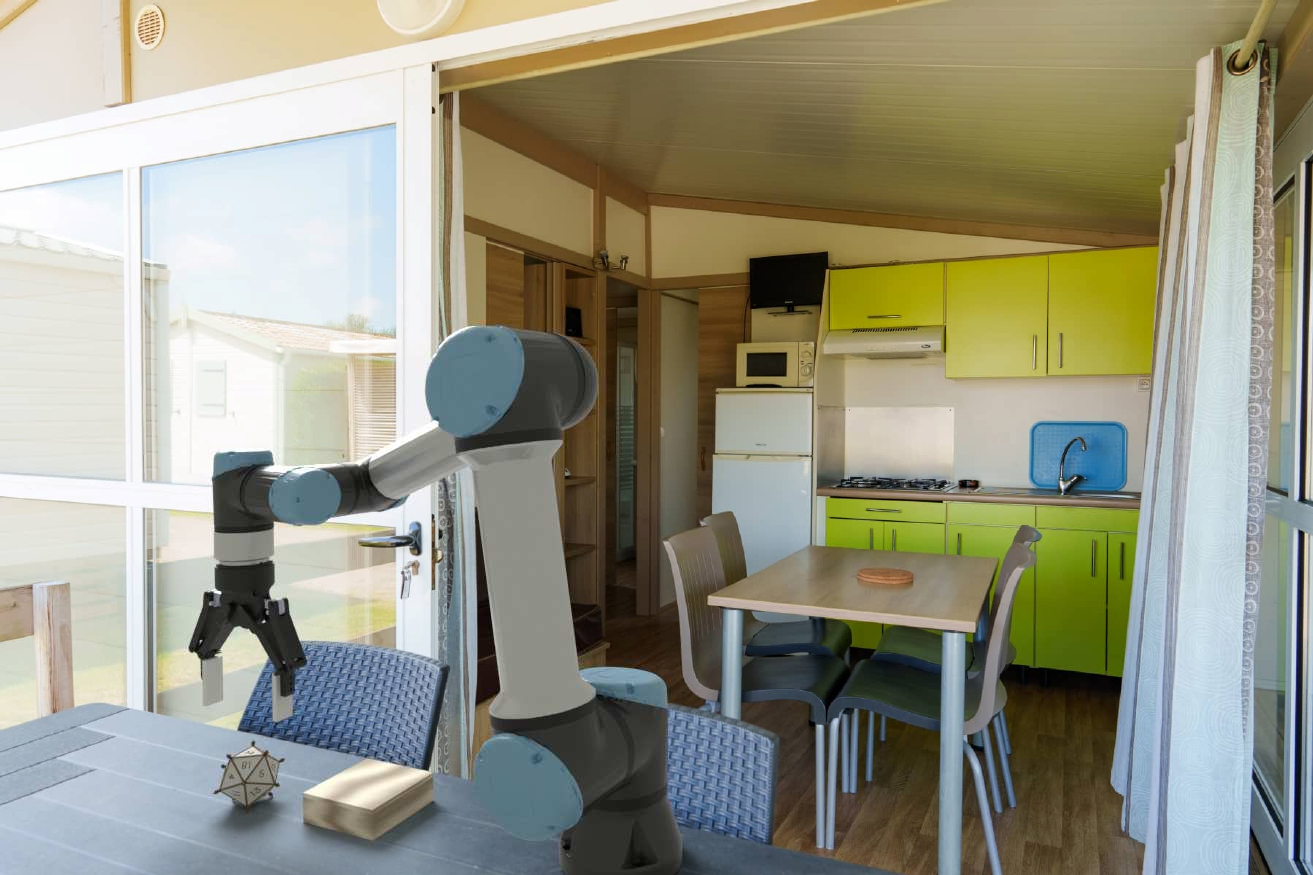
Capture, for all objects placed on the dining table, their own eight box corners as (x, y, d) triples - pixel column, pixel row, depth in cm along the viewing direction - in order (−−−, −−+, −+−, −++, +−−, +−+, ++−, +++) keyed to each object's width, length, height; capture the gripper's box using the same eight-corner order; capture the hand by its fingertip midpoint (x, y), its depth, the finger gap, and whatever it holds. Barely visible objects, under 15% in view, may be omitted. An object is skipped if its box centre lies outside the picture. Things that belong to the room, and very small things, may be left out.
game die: (239, 836, 117) (190, 794, 113) (250, 789, 125) (204, 748, 120) (296, 803, 118) (249, 760, 113) (304, 758, 125) (260, 716, 120)
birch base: (433, 800, 120) (433, 772, 119) (372, 840, 109) (372, 809, 109) (367, 784, 125) (367, 758, 124) (303, 821, 114) (302, 792, 113)
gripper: (333, 562, 116) (335, 715, 117) (206, 548, 126) (208, 688, 127) (289, 573, 109) (291, 735, 110) (158, 556, 119) (161, 705, 120)
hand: (247, 710), depth 119 cm, fingers open, 13 cm apart
